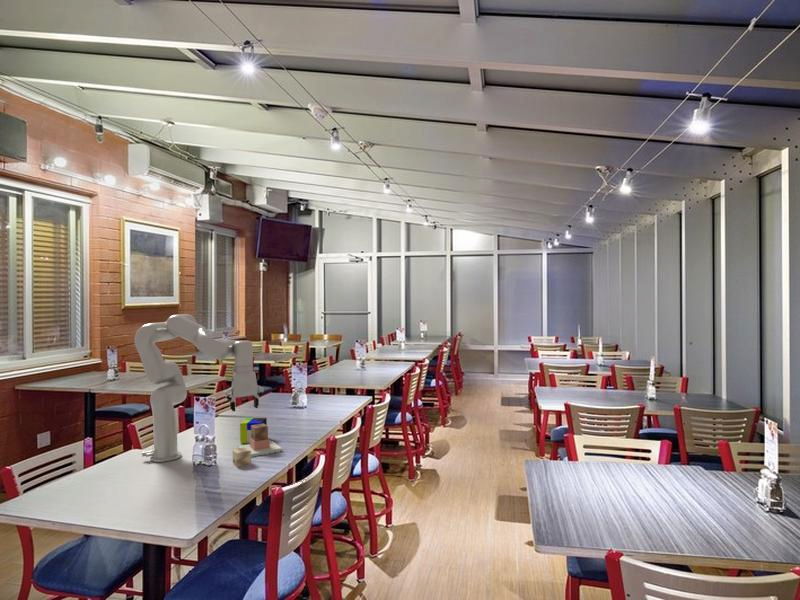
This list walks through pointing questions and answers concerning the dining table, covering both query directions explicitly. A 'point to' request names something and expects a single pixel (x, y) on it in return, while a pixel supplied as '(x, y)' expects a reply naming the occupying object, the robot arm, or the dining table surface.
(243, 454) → the maple brick
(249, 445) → the build board
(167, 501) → the dining table surface
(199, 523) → the dining table surface
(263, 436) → the walnut brick
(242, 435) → the puzzle toy
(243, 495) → the dining table surface
